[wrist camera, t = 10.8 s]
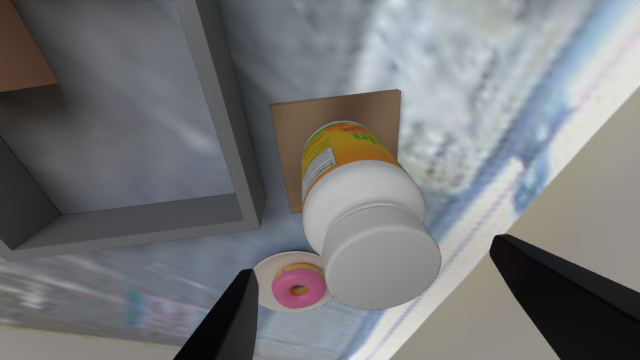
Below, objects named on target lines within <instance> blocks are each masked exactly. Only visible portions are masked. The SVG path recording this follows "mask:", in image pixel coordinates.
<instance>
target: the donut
mask: <svg viewBox="0 0 640 360" xmlns="http://www.w3.org/2000/svg"><path fill="white" fill-rule="evenodd" d="M253 270H254V272H255V275H256V278H257V281H258V284H259V298H258V303H259V304H260V305H262V306H263V307H266V308H268V309H270V310H273V311H277V312H283V313H301V312H306V311H310V310H313V309H316V308H318V307H320V306H322V305H324V304H325V303H327V302H328V301H329V300H330V299H331V298H332V297H333V295H332V294H331V292H330V291H329V289H328V287H327V285H326V281H325V275H324V268H323V262H322V257H321V256H319V255H316V254H313V253H309V252H301V251H291V252H284V253H279V254H276V255H273V256H270V257H268V258H266V259H265V260H263V261H261V262H260V263H259V264H258V265H257V266H255V267H254V269H253Z"/></svg>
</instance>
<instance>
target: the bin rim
mask: <svg viewBox="0 0 640 360" xmlns="http://www.w3.org/2000/svg"><path fill="white" fill-rule="evenodd" d="M174 1H175V4H176V7H177V11H178V14H179V17H180V20H181V23H182V26H183V29H184V33H185V36H186V39H187V42H188V45H189V48H190V51H191V55H192V58H193V61H194V64H195V67H196V70H197V73H198V77H199V80H200V83H201V86H202V89H203V92H204V95H205V98H206V102H207V105H208V108H209V111H210V114H211V117H212V120H213V124H214V127H215V130H216V133H217V136H218V139H219V142H220V146H221V149H222V152H223V155H224V158H225V161H226V164H227V168H228V171H229V174H230V177H231V180H232V183H233V186H234V190H235V193H233V194H225V195H217V196H210V197H202V198H194V199H186V200H178V201H170V202H163V203H155V204H147V205H139V206H131V207H123V208H116V209H108V210H100V211H92V212H84V213H76V214H69V215H60V213H59V212H58V211H57V209H56V208H55V207H54V206H53V204H52V203H51V202H50V200H49V199H48V198H47V196H46V195H45V194H44V193H43V191H42V190H41V189H40V187H39V186H38V185H37V184H36V182H35V181H34V180H33V178H32V177H31V176H30V175H29V173H28V172H27V171H26V169H25V168H24V167H23V166H22V164H21V163H20V162H19V160H18V159H17V158H16V156H15V155H14V154H13V153H12V151H11V150H10V149H9V147H8V146H7V145H6V144H5V142H4V141H3V140H2V138H1V137H0V255H1V256H2V257H3V258H4V259H5V260H6V261H7V262H11V261H19V260H27V259H34V258H42V257H49V256H57V255H65V254H72V253H80V252H87V251H95V250H103V249H110V248H118V247H125V246H133V245H141V244H148V243H156V242H164V241H171V240H179V239H186V238H194V237H202V236H209V235H217V234H224V233H232V232H240V231H247V230H255V229H260V227H261V222H262V217H263V213H264V208H265V203H266V195H265V191H264V187H263V183H262V179H261V175H260V171H259V167H258V163H257V159H256V155H255V151H254V147H253V143H252V139H251V135H250V131H249V127H248V123H247V119H246V115H245V111H244V107H243V103H242V99H241V95H240V91H239V86H238V82H237V78H236V74H235V70H234V66H233V62H232V58H231V54H230V50H229V46H228V42H227V38H226V34H225V30H224V26H223V22H222V18H221V14H220V10H219V6H218V2H217V0H174Z"/></svg>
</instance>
